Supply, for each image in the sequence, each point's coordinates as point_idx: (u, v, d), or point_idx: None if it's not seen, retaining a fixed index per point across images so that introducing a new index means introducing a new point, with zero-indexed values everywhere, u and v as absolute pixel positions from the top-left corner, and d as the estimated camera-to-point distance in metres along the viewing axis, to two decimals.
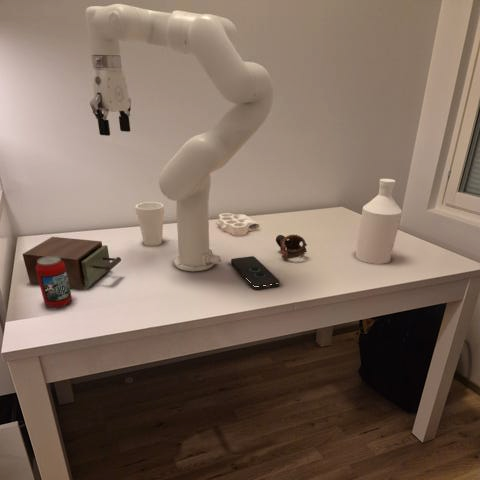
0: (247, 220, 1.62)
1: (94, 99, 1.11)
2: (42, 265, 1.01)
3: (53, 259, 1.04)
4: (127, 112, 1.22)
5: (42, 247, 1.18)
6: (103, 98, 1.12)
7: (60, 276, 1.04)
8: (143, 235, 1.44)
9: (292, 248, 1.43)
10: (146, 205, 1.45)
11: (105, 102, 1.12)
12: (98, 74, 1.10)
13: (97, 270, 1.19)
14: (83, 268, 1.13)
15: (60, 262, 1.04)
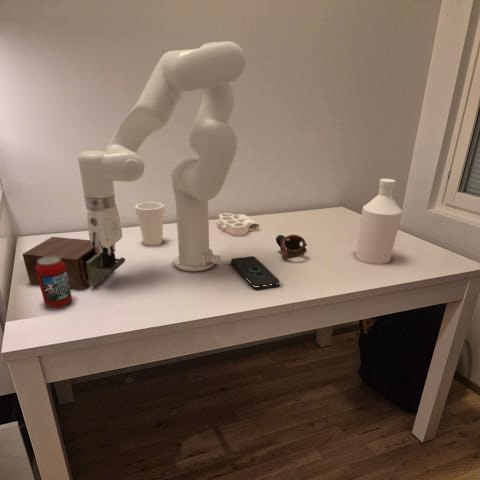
0: (247, 220, 1.62)
1: (97, 246, 1.10)
2: (42, 265, 1.01)
3: (53, 259, 1.04)
4: (113, 249, 1.16)
5: (42, 247, 1.18)
6: (100, 237, 1.09)
7: (60, 276, 1.04)
8: (143, 235, 1.44)
9: (292, 248, 1.43)
10: (146, 205, 1.45)
11: (102, 241, 1.09)
12: (94, 216, 1.07)
13: (101, 270, 1.19)
14: (87, 268, 1.13)
15: (60, 262, 1.04)
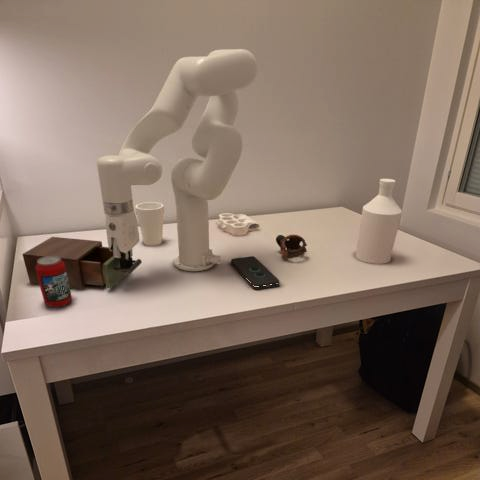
0: (247, 220, 1.62)
1: (115, 251, 1.10)
2: (42, 265, 1.01)
3: (53, 259, 1.04)
4: (130, 253, 1.16)
5: (42, 247, 1.18)
6: (118, 242, 1.09)
7: (60, 276, 1.04)
8: (143, 235, 1.44)
9: (292, 248, 1.43)
10: (146, 205, 1.45)
11: (120, 246, 1.09)
12: (112, 221, 1.06)
13: (118, 272, 1.18)
14: (105, 270, 1.12)
15: (60, 262, 1.04)
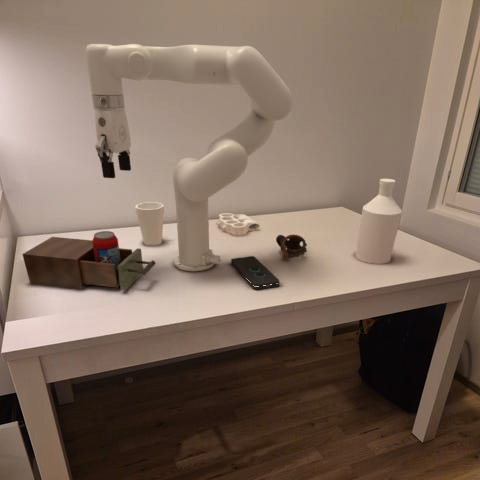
0: (247, 220, 1.62)
1: (99, 142, 1.03)
2: (99, 239, 1.12)
3: (107, 234, 1.15)
4: (127, 151, 1.15)
5: (42, 247, 1.18)
6: (108, 140, 1.04)
7: (114, 248, 1.14)
8: (143, 235, 1.44)
9: (292, 248, 1.43)
10: (146, 205, 1.45)
11: (110, 144, 1.05)
12: (102, 115, 1.02)
13: (132, 274, 1.17)
14: (119, 272, 1.11)
15: (114, 236, 1.14)
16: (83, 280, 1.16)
